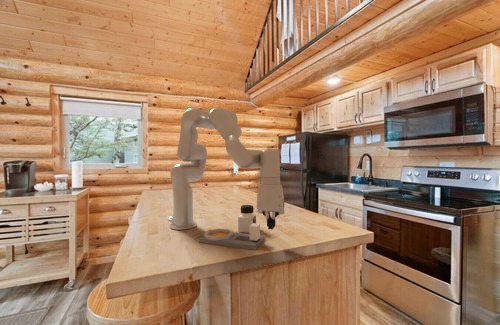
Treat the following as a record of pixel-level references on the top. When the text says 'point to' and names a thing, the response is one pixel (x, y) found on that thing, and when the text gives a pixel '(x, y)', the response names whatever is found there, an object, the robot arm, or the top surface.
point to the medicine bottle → (246, 218)
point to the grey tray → (230, 239)
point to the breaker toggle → (254, 231)
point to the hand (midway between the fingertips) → (271, 228)
